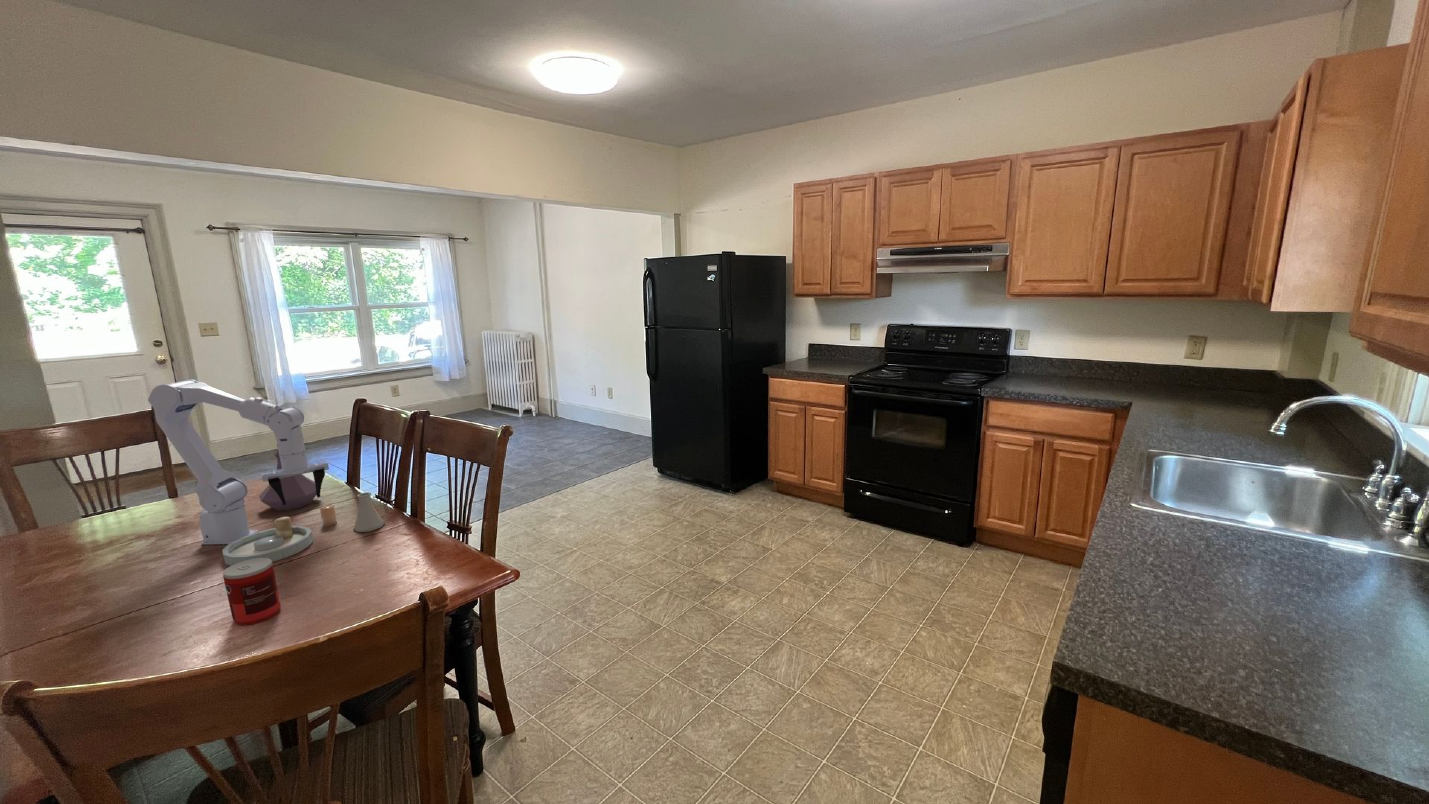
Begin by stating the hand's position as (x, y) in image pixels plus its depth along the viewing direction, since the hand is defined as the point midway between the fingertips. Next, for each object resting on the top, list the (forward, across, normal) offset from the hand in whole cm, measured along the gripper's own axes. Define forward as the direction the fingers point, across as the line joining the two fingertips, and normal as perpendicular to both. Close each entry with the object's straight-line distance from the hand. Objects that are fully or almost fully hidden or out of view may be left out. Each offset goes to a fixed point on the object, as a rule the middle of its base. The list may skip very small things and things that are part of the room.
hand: (301, 500), depth 153 cm
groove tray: (+10, -9, -6) cm, 14 cm away
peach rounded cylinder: (+10, +6, +3) cm, 11 cm away
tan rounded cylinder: (+8, -5, -2) cm, 10 cm away
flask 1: (+10, -1, +29) cm, 30 cm away
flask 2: (+10, +14, -9) cm, 19 cm away
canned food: (+10, -12, -43) cm, 46 cm away
